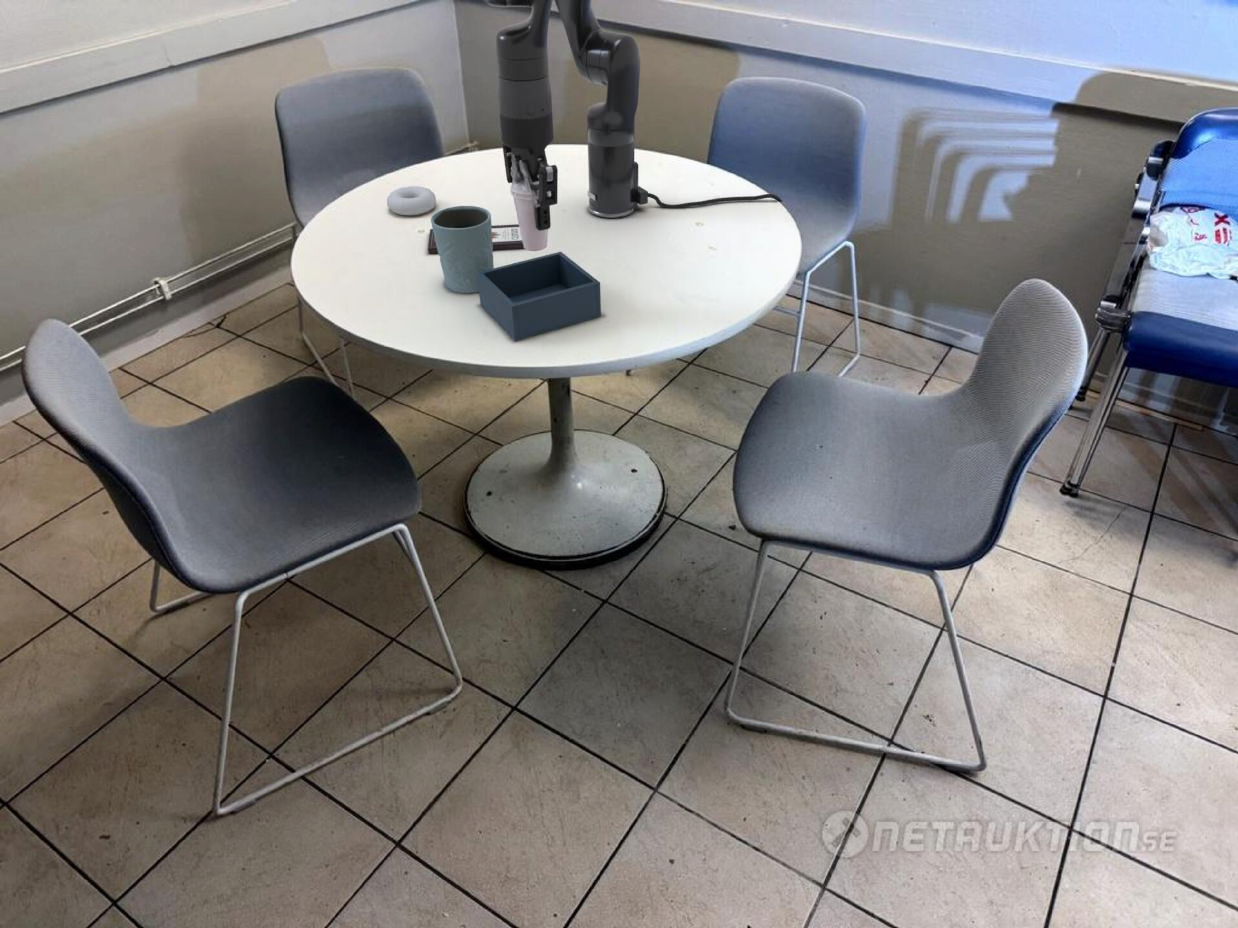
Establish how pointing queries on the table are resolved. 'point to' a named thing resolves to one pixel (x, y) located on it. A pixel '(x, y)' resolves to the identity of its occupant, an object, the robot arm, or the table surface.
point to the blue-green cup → (463, 245)
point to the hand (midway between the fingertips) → (533, 221)
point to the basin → (539, 295)
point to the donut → (411, 200)
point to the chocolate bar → (500, 238)
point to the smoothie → (528, 217)
